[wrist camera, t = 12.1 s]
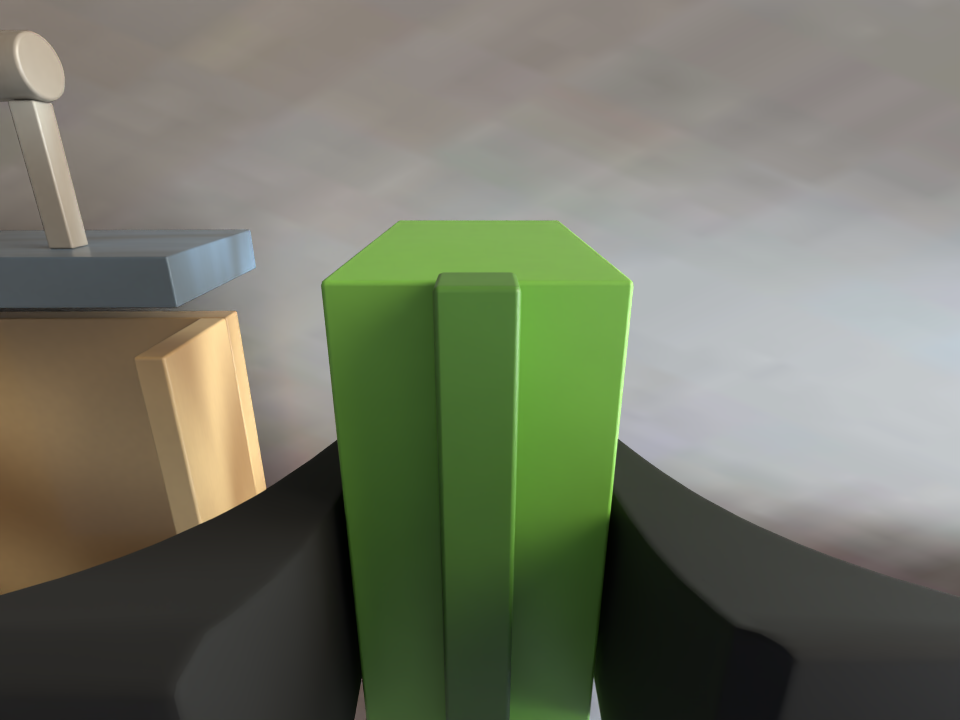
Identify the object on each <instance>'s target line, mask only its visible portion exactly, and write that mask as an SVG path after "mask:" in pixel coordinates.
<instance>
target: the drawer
mask: <svg viewBox="0 0 960 720" xmlns="http://www.w3.org/2000/svg"><path fill="white" fill-rule="evenodd" d="M64 88H65V76H64V71H63V67H62V64H61V62H60V60H59V57H58V56H57V54H56V52H55V51H54V49H53V48H52V46H51V45H50V44H49V43H48V42H47V41H46V40H45V39H44V38H43V37H41V36H40V35H38V34H36V33H34V32H32V31H28V30H0V102H8V104H9V107H10V111H11V114H12V118H13V121H14V125H15V129H16V132H17V136H18V139H19V143H20V146H21V150H22V153H23V157H24V160H25V164H26V168H27V171H28V175H29V178H30V182H31V185H32V189H33V192H34V196H35V199H36V203H37V207H38V210H39V214H40V217H41V221H42V224H43V228H44V230H0V308H177V307H179V306H181V305H183V304H185V303H187V302H189V301H191V300H193V299H195V298H197V297H199V296H201V295H203V294H205V293H207V292H209V291H211V290H213V289H215V288H217V287H219V286H221V285H223V284H225V283H227V282H229V281H231V280H233V279H235V278H237V277H239V276H241V275H242V274H244V273H246V272H248V271H250V270H252V269H254V268H256V265H255V258H254V252H253V245H252V238H251V232H250V230H84V226H83V222H82V218H81V214H80V211H79V207H78V203H77V199H76V195H75V191H74V187H73V183H72V179H71V175H70V172H69V168H68V164H67V160H66V156H65V152H64V148H63V144H62V140H61V136H60V132H59V129H58V125H57V121H56V117H55V113H54V109H53V105H52V104H51V103H49V102H43V101H55V100H57V99H58V98H60V97H61V96H62V94H63V92H64ZM264 490H266V484H265V478H264V472H263V466H262V460H261V454H260V448H259V442H258V436H257V430H256V424H255V419H254V413H253V407H252V401H251V395H250V389H249V383H248V377H247V371H246V365H245V359H244V353H243V347H242V341H241V335H240V329H239V323H238V317H237V312H236V311H54V312H0V595H3V594H6V593H9V592H13V591H16V590H20V589H23V588H27V587H30V586H34V585H37V584H41V583H44V582H47V581H51V580H54V579H58V578H61V577H64V576H67V575H70V574H73V573H76V572H80V571H83V570H86V569H89V568H91V567H94V566H97V565H100V564H103V563H106V562H108V561H111V560H114V559H117V558H120V557H123V556H125V555H128V554H130V553H133V552H136V551H138V550H141V549H143V548H146V547H149V546H151V545H154V544H156V543H159V542H161V541H163V540H166V539H168V538H170V537H172V536H174V535H177V534H179V533H181V532H183V531H186V530H188V529H190V528H192V527H194V526H197V525H199V524H201V523H203V522H206V521H208V520H210V519H212V518H214V517H216V516H218V515H220V514H222V513H224V512H226V511H228V510H230V509H232V508H234V507H236V506H237V505H239V504H241V503H243V502H245V501H247V500H249V499H250V498H252V497H254V496H256V495H257V494H259V493H261V492H262V491H264Z"/></svg>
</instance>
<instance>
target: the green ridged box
mask: <svg viewBox="0 0 960 720" xmlns="http://www.w3.org/2000/svg"><path fill="white" fill-rule="evenodd" d="M321 288H322V298H323V307H324V317H325V326H326V336H327V346H328V355H329V365H330V374H331V384H332V393H333V403H334V413H335V422H336V432H337V441H338V451H339V460H340V470H341V479H342V489H343V499H344V508H345V518H346V527H347V537H348V546H349V556H350V565H351V575H352V585H353V594H354V604H355V613H356V623H357V632H358V642H359V652H360V661H361V671H362V680H363V690H364V699H365V709H366V718H367V720H589V719H590V709H591V699H592V689H593V680H594V670H595V660H596V650H597V640H598V630H599V620H600V610H601V600H602V591H603V581H604V571H605V561H606V551H607V541H608V531H609V521H610V511H611V502H612V492H613V482H614V472H615V462H616V452H617V442H618V432H619V422H620V413H621V403H622V393H623V383H624V373H625V363H626V353H627V343H628V333H629V324H630V314H631V304H632V294H633V283H632V281H631V280H630V279H629V278H627V277H626V276H625V275H624V274H623V273H621V272H620V271H619V270H618V269H616V268H615V267H614V266H613V265H612V264H610V263H609V262H608V261H607V260H605V259H604V258H603V257H602V256H600V255H599V254H598V253H597V252H596V251H594V250H593V249H592V248H591V247H589V246H588V245H587V244H586V243H585V242H583V241H582V240H581V239H580V238H578V237H577V236H576V235H575V234H574V233H572V232H571V231H570V230H569V229H567V228H566V227H565V226H564V225H563V224H561V223H560V222H559V221H398V222H397V223H396V224H395V225H393V226H392V227H391V228H389V229H388V230H387V231H386V232H384V233H383V234H382V235H381V236H379V237H378V238H377V239H376V240H374V241H373V242H372V243H370V244H369V245H368V246H367V247H365V248H364V249H363V250H362V251H360V252H359V253H358V254H356V255H355V256H354V257H353V258H351V259H350V260H349V261H348V262H346V263H345V264H344V265H342V266H341V267H340V268H339V269H337V270H336V271H335V272H334V273H332V274H331V275H330V276H329V277H327V278H326V279H325V280H323V281H322V284H321Z"/></svg>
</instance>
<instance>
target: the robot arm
mask: <svg viewBox="0 0 960 720" xmlns="http://www.w3.org/2000/svg"><path fill="white" fill-rule="evenodd" d="M361 679H362V671H361V661H360V652H359V642H358V632H357V623H356V613H355V604H354V594H353V585H352V575H351V565H350V556H349V546H348V537H347V527H346V518H345V508H344V499H343V489H342V479H341V470H340V460H339V451H338V441H337V440H336V441H335V442H334V443H332V444H331V445H330V446H328V447H327V448H326V449H324V450H323V451H322V452H320V453H319V454H318V455H316V456H315V457H314V458H312V459H311V460H310V461H308V462H307V463H305V464H304V465H302V466H301V467H299V468H298V469H296V470H295V471H293V472H292V473H290V474H289V475H287V476H286V477H284V478H283V479H281V480H280V481H278V482H277V483H275V484H274V485H272V486H271V487H269V488H267V489H266V490H264V491H262V492H261V493H259V494H257V495H256V496H254V497H252V498H250V499H249V500H247V501H245V502H243V503H241V504H239V505H237V506H236V507H234V508H232V509H230V510H228V511H226V512H224V513H222V514H220V515H218V516H216V517H214V518H212V519H210V520H208V521H206V522H203V523H201V524H199V525H197V526H194V527H192V528H190V529H188V530H186V531H183V532H181V533H179V534H177V535H174V536H172V537H170V538H168V539H166V540H163V541H161V542H159V543H156V544H154V545H151V546H149V547H146V548H143V549H141V550H138V551H136V552H133V553H130V554H128V555H125V556H123V557H120V558H117V559H114V560H111V561H108V562H106V563H103V564H100V565H97V566H94V567H91V568H89V569H86V570H83V571H80V572H76V573H73V574H70V575H67V576H64V577H61V578H58V579H54V580H51V581H47V582H44V583H41V584H37V585H34V586H30V587H27V588H23V589H20V590H16V591H13V592H9V593H6V594H3V595H0V720H354V718H355V712H356V707H357V701H358V695H359V690H360V684H361ZM589 720H960V597H958V596H955V595H951V594H948V593H944V592H941V591H937V590H934V589H930V588H927V587H923V586H920V585H916V584H913V583H909V582H906V581H902V580H899V579H895V578H892V577H889V576H886V575H883V574H880V573H877V572H874V571H871V570H868V569H865V568H863V567H860V566H857V565H854V564H851V563H848V562H845V561H843V560H840V559H837V558H834V557H831V556H829V555H826V554H824V553H821V552H818V551H816V550H813V549H811V548H808V547H805V546H803V545H800V544H798V543H796V542H793V541H791V540H789V539H787V538H784V537H782V536H780V535H777V534H775V533H773V532H771V531H768V530H766V529H764V528H761V527H759V526H757V525H755V524H753V523H751V522H749V521H747V520H745V519H742V518H740V517H738V516H736V515H735V514H733V513H731V512H729V511H727V510H725V509H723V508H722V507H720V506H718V505H716V504H714V503H712V502H710V501H709V500H707V499H705V498H703V497H701V496H700V495H698V494H696V493H695V492H693V491H691V490H690V489H688V488H686V487H685V486H683V485H682V484H680V483H679V482H677V481H676V480H674V479H673V478H671V477H670V476H668V475H666V474H665V473H663V472H662V471H661V470H659V469H658V468H656V467H655V466H653V465H652V464H651V463H649V462H648V461H646V460H645V459H644V458H642V457H641V456H640V455H638V454H637V453H636V452H634V451H633V450H632V449H630V448H629V447H628V446H627V445H625V444H624V443H623V442H621V441H620V440H619V439H618V442H617V452H616V462H615V472H614V482H613V492H612V502H611V511H610V521H609V531H608V541H607V551H606V561H605V571H604V581H603V591H602V600H601V610H600V620H599V630H598V640H597V650H596V660H595V670H594V680H593V689H592V699H591V709H590V719H589Z"/></svg>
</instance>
